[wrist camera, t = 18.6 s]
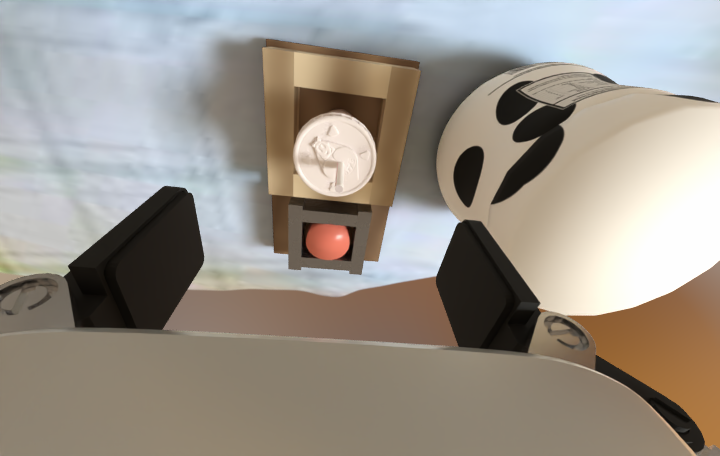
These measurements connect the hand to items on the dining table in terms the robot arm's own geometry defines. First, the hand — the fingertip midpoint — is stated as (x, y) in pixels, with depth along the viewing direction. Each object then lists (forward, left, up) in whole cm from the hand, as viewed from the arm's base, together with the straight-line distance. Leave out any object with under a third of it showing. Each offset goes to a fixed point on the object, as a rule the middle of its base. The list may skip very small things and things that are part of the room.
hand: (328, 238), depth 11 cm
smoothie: (0, -2, -22) cm, 22 cm away
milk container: (+19, -2, -24) cm, 30 cm away
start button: (0, -14, -22) cm, 26 cm away
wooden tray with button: (0, -7, -24) cm, 25 cm away
